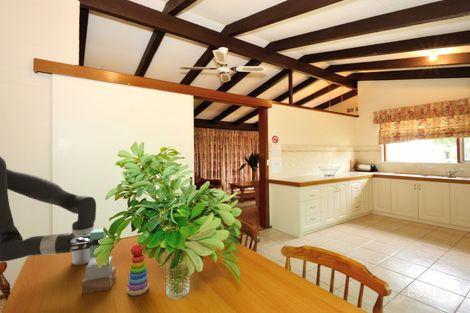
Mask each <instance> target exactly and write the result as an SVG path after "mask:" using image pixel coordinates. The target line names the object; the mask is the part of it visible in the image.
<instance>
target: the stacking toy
mask: <svg viewBox="0 0 470 313" xmlns="http://www.w3.org/2000/svg"><path fill="white" fill-rule="evenodd" d="M138 243H139V242H136V243H134V244H133V245H132V246H131V248H130V253H131V255H132V256H131V258H130V259H131V262H130V263H129V264H130V265H129V266H130V267H129V274H128V276H129V278H128V283H127V289H126V290H127V294H128V295H130V296H139V295H143V294H145V293H146V292H147V291H148V290H149V288H150V285H149V280H148V269H146V268H147V265H146V260H145V257H146V256H145V254H144V255H142V251H143V249H144V247H145V246H144V247H143V246H138Z"/></svg>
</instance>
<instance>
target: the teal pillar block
mask: <svg viewBox="0 0 470 313" xmlns="http://www.w3.org/2000/svg"><path fill="white" fill-rule="evenodd" d="M105 228H106V229H107V230H108V228H107V227H105ZM105 237H106V235H105V233H104V231H103V228H94V230H92V231H91V232H90V240H93V241H94V240H96V239H103V238H105ZM99 246H100V245H96V246H94V245H93V246H92V247H90V258H93V257H94V258H98V257H97V256H98V255H94V254H93V253H94V251H95V249H96V248H98V247H99Z"/></svg>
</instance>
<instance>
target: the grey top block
mask: <svg viewBox="0 0 470 313" xmlns="http://www.w3.org/2000/svg"><path fill="white" fill-rule="evenodd" d="M108 257H109V266H108V267H107V266H106V264H105V263H103V264H102V267H101V268H99V267H98V265H97V262H96V259H97V258H94V259H91V260H90V262H89V263H87V265H86V267H85V276H86V280H92V279H99V278H105V277H109V275H110V272H111V269H112V267H113V256H108Z"/></svg>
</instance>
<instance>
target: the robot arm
mask: <svg viewBox="0 0 470 313" xmlns="http://www.w3.org/2000/svg"><path fill="white" fill-rule="evenodd" d="M9 191H12V192H14V193H17V194H19V195H22V196H25V197H26V198H27V197H28V198H30V199H32V200H35V201H39V202H42V203H46V204H49V205H55V206H58V207H60V208H63V209H64V210H67V211H68V212H70V213H71V214H72V213H73V214H76V215H77V220H76V221H74V222H73V223H72V224H71V229H72V231H71V232H63V233H52V234H47V235H36V236H30V237H28V238H26V239H23V236H22V235H21V233H20V231H19V230H18V228H17V226H16V225H15V223H14V218H13V213H12V210H11V207H10V201H9ZM96 215H97V203H96V200H95V198H94V197H93V196H89V195H88V196H87V195H78V194H74V193H71V192H68V191H66V190H64V189H63V188H62V187H61V186H60V185H58V184H57V183H55V182H53V181H51V180H49V179H47V178H45V177H42V176H39V175H35V174H32V173H31V174H29V173H25V172H21V171H17V170H13V169H10V168H8V167H7V163H6V160H5V158H3V156H1V155H0V263H5V262H9V261H14V260H17V259H23V258H25V257H31V256H40V255H57V254H59V255H60V254H69V253H71V252H72V256H71V258H72V260H71V261H72V265H74V266H75V265H76V266H80V265H85V264H88V263H89V262H90V260H91V259H95V257H93V258H90V247H92V246H93V245H94V246H96V245H100V244H99V243H98V240H100V239H96V240H94V241H93V240H90V232H91V231H92V230H94V229H95V221H96Z"/></svg>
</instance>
